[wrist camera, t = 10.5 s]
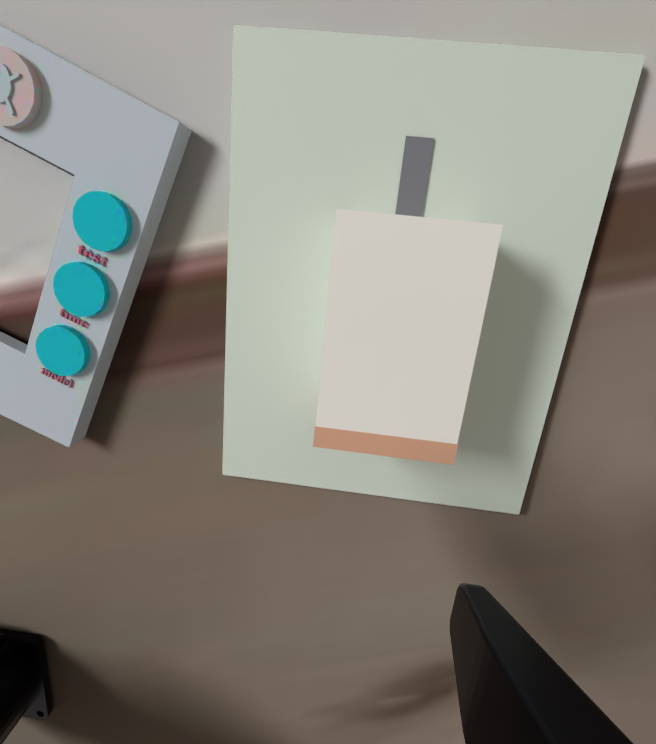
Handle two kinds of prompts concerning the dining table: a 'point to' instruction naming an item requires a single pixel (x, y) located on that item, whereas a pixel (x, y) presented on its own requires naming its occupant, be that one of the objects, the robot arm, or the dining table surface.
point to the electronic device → (82, 229)
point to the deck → (402, 332)
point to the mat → (412, 198)
